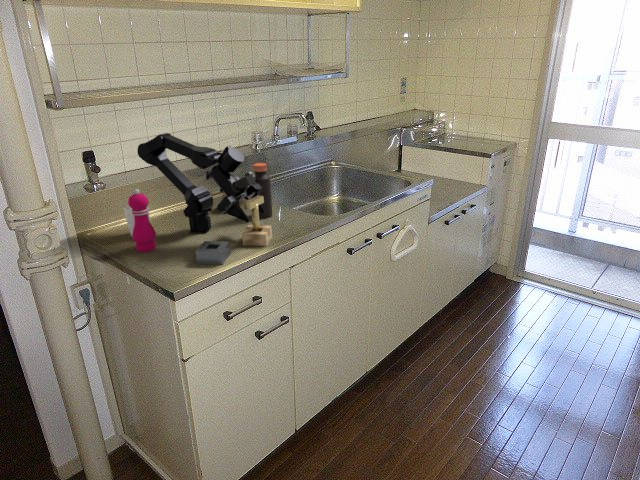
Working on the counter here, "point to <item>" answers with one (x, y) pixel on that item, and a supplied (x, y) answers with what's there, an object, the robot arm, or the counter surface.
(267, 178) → the bottle
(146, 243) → the pepper mill
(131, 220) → the white cup
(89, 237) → the counter surface
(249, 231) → the tan square ring block
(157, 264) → the counter surface
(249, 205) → the T-key
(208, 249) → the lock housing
